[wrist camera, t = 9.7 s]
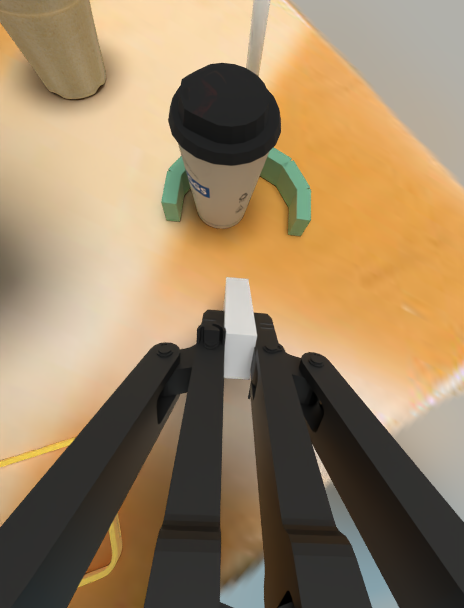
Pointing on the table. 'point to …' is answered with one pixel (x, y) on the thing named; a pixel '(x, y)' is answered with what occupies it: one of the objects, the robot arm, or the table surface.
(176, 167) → the cup ring
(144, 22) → the table surface
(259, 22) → the flag
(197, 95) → the coffee cup
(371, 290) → the table surface
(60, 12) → the flower pot
